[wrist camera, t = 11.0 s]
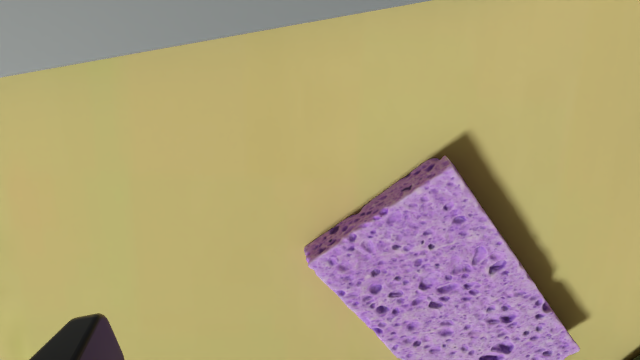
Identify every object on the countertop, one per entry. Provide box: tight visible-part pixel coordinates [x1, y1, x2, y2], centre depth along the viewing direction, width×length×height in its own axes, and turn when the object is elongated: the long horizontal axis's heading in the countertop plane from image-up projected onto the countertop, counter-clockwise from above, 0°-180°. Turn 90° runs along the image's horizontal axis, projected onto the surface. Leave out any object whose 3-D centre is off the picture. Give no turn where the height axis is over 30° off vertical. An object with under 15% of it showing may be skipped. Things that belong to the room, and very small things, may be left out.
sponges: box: [304, 156, 580, 360], centre depth 25 cm, size 7×13×2 cm, turn 36°
